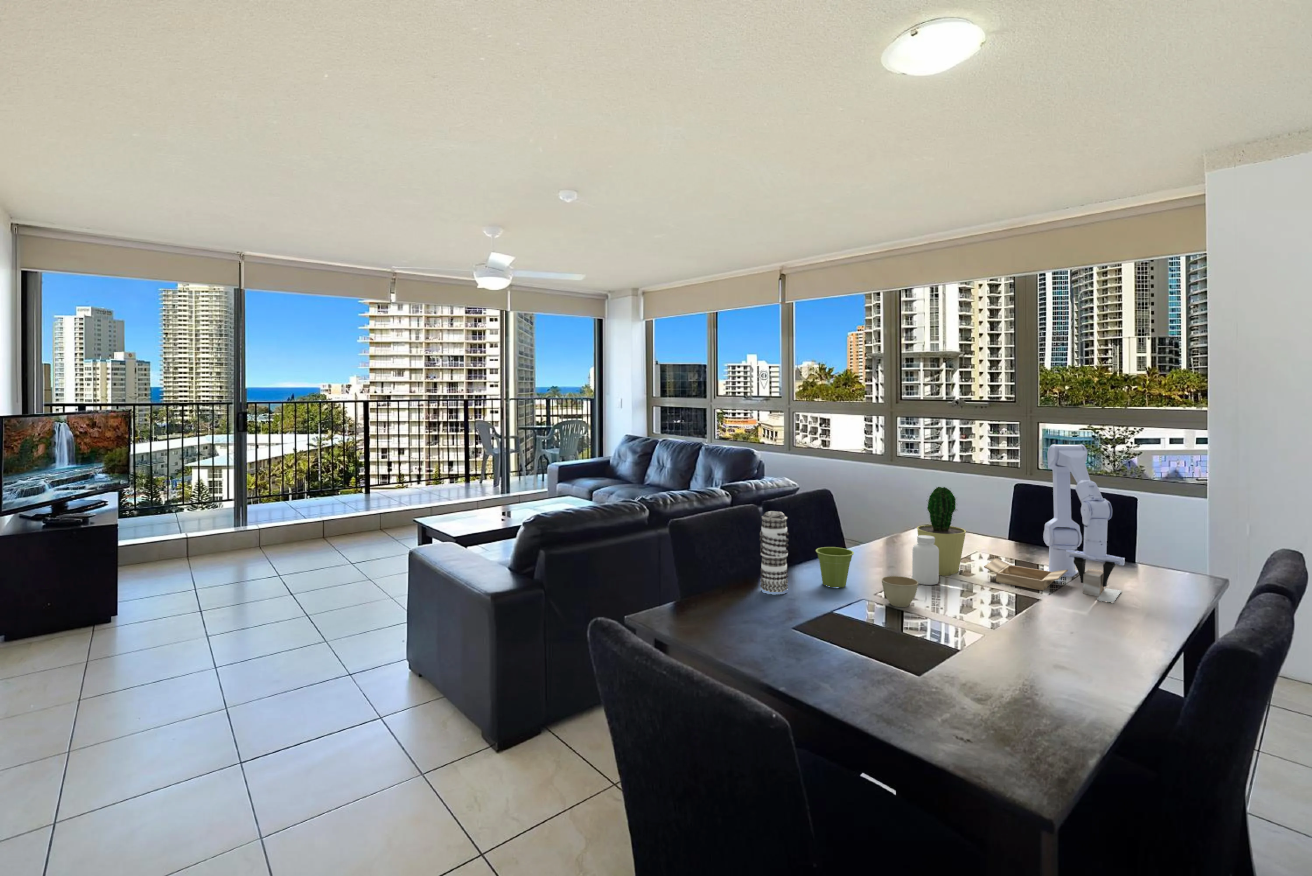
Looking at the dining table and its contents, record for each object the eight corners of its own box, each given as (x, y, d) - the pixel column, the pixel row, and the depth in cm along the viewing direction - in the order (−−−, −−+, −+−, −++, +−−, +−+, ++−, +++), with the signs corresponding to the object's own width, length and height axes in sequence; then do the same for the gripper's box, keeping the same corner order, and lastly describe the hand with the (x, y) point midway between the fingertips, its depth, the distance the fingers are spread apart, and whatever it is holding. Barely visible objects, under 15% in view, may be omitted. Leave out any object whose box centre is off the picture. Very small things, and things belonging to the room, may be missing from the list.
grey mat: (1075, 584, 199) (1075, 582, 199) (1121, 592, 190) (1121, 590, 190) (1064, 594, 189) (1064, 593, 189) (1113, 603, 180) (1113, 601, 180)
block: (1088, 587, 194) (1088, 568, 193) (1103, 590, 191) (1104, 571, 190) (1082, 593, 188) (1083, 574, 188) (1098, 596, 185) (1099, 576, 185)
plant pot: (858, 591, 195) (858, 555, 194) (820, 591, 195) (820, 555, 194) (847, 579, 206) (847, 546, 206) (811, 580, 207) (811, 546, 206)
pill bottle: (933, 578, 207) (934, 534, 206) (942, 586, 199) (943, 539, 198) (908, 578, 208) (909, 533, 207) (916, 585, 200) (917, 539, 199)
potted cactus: (918, 575, 210) (920, 487, 208) (913, 563, 225) (915, 481, 223) (968, 579, 206) (970, 489, 204) (960, 566, 220) (962, 482, 218)
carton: (995, 572, 213) (996, 558, 212) (1067, 585, 198) (1068, 569, 198) (983, 581, 203) (983, 566, 203) (1057, 594, 189) (1058, 578, 188)
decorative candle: (787, 586, 200) (787, 509, 198) (790, 596, 191) (790, 515, 189) (758, 586, 201) (758, 509, 199) (760, 595, 191) (760, 515, 190)
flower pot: (921, 611, 176) (921, 586, 175) (884, 609, 178) (884, 584, 177) (914, 599, 186) (914, 576, 185) (879, 598, 188) (879, 574, 187)
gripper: (1064, 538, 191) (1062, 582, 191) (1122, 546, 180) (1120, 592, 181) (1069, 535, 196) (1067, 577, 196) (1126, 542, 185) (1124, 586, 186)
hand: (1093, 584), depth 189 cm, fingers open, 5 cm apart
